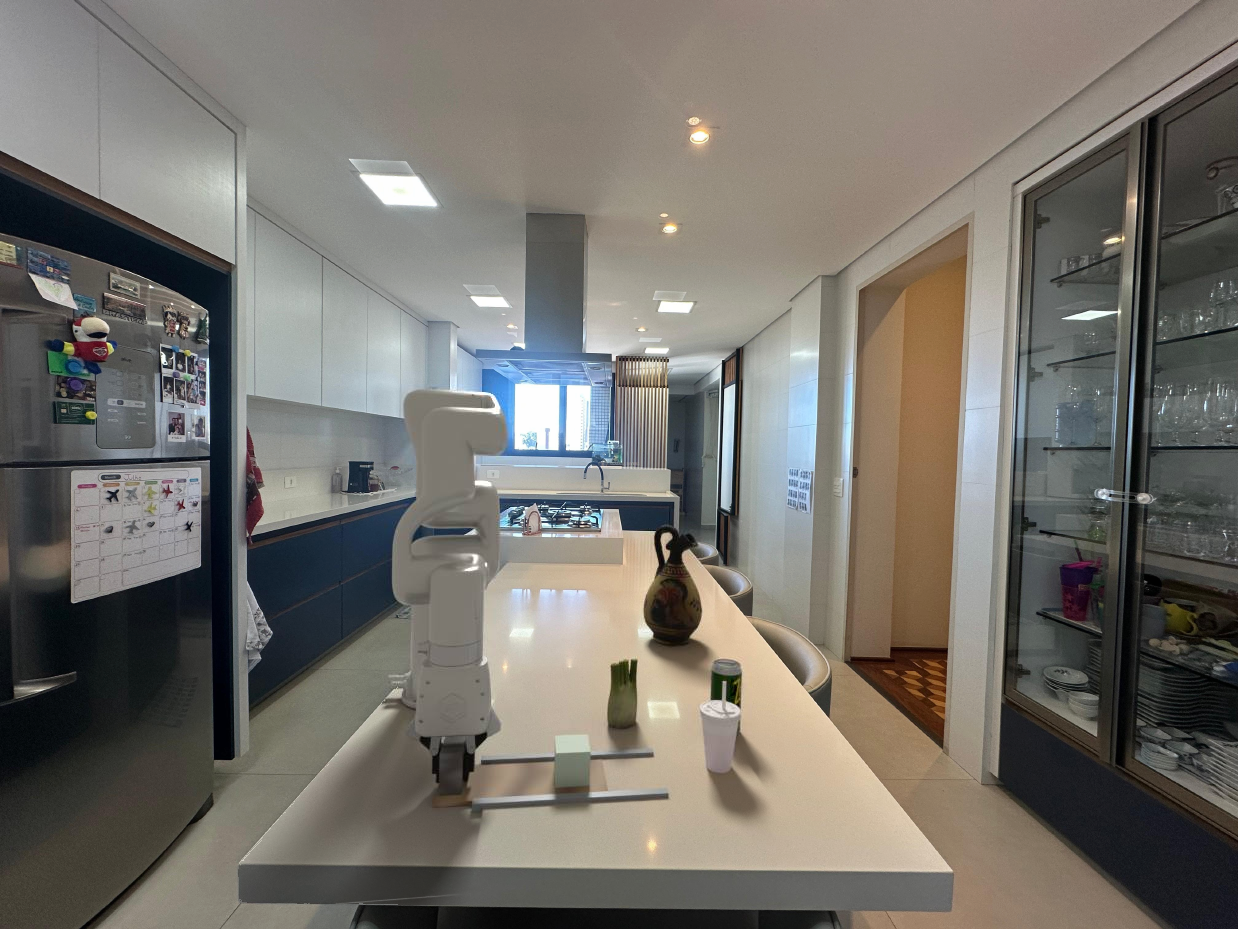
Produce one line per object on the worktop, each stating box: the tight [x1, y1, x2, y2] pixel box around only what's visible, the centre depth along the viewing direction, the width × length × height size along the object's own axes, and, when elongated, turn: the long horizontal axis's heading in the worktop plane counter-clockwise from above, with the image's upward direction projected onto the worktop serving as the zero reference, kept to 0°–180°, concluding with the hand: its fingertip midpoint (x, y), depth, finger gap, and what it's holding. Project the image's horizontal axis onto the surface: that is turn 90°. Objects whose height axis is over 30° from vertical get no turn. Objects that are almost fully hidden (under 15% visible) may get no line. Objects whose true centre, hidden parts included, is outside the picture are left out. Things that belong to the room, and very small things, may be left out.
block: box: [553, 734, 592, 788], centre depth 83 cm, size 5×5×5 cm
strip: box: [432, 736, 609, 808], centre depth 82 cm, size 24×9×7 cm, turn 98°
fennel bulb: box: [606, 658, 638, 730], centre depth 100 cm, size 6×5×12 cm
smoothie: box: [698, 681, 742, 774], centre depth 87 cm, size 6×6×14 cm
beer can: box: [709, 658, 743, 736], centre depth 100 cm, size 5×5×12 cm
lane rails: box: [471, 747, 670, 813], centre depth 83 cm, size 27×12×1 cm, turn 98°
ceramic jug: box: [642, 524, 703, 647], centre depth 148 cm, size 17×15×30 cm
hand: (453, 775), depth 81 cm, fingers closed on strip, 3 cm apart
